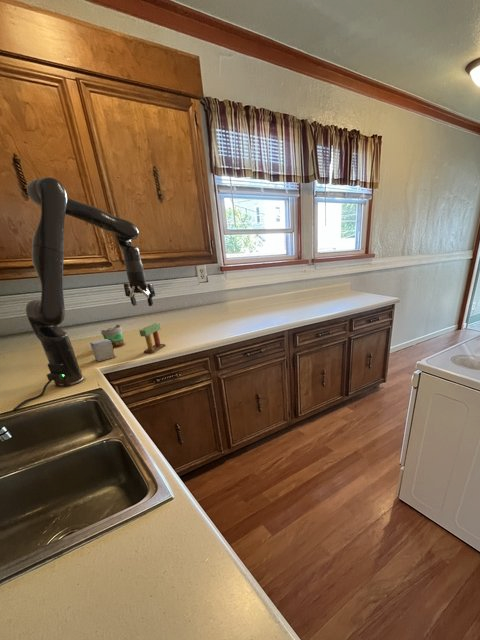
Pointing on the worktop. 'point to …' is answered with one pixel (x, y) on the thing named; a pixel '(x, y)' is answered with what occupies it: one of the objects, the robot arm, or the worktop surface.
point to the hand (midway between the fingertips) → (142, 305)
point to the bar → (150, 329)
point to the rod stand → (150, 346)
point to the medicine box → (102, 349)
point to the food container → (114, 336)
